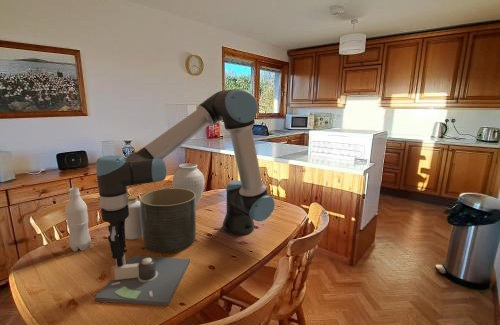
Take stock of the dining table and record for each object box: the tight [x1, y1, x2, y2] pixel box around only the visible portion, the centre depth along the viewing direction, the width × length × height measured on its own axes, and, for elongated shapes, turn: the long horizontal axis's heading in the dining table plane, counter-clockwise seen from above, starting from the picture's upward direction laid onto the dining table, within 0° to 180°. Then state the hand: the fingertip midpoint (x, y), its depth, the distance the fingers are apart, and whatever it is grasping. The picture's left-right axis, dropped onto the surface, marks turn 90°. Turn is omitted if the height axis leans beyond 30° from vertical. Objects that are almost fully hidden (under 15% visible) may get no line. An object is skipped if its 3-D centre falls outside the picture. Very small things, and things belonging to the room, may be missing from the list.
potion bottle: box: [125, 195, 143, 241], centre depth 113 cm, size 8×8×18 cm
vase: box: [171, 162, 206, 207], centre depth 146 cm, size 18×18×25 cm
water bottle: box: [64, 187, 92, 252], centre depth 101 cm, size 7×7×25 cm
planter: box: [139, 187, 197, 254], centre depth 110 cm, size 22×22×20 cm
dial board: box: [94, 255, 191, 307], centre depth 86 cm, size 22×22×1 cm
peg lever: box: [110, 258, 156, 280], centre depth 84 cm, size 13×5×6 cm, turn 103°
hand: (121, 272), depth 85 cm, fingers closed
